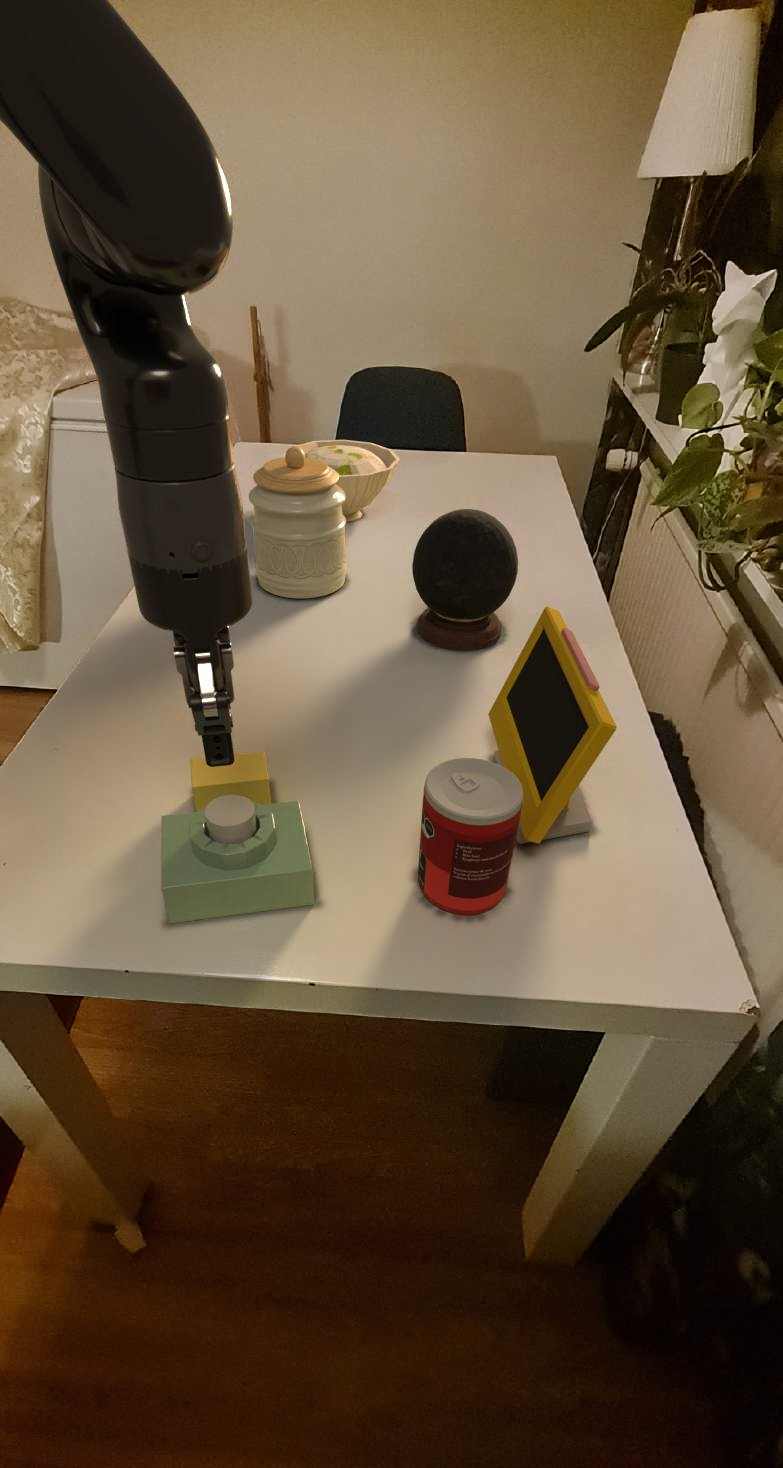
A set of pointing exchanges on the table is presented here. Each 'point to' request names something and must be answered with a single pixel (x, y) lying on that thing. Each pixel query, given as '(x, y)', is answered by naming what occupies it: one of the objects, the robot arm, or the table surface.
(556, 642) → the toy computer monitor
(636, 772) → the table surface
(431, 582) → the sphere on stand
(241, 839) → the grey push button
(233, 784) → the sponge
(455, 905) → the canned food
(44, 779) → the table surface
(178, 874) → the push button box
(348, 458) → the bowl
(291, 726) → the table surface
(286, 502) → the jar
